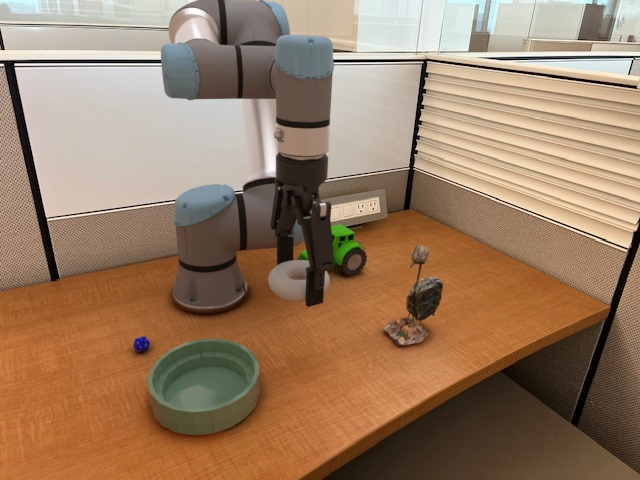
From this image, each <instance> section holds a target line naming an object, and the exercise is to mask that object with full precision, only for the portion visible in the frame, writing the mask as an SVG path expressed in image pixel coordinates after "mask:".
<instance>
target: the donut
mask: <svg viewBox="0 0 640 480" xmlns="http://www.w3.org/2000/svg"><path fill="white" fill-rule="evenodd" d="M307 267H310V265H309V261H305V260H297V259H295V260H294V259H293V260H292V261H287V262H283V263H281V264H279V265H277V264H276V266H274V267H273V268H272V269H271V270H270V271H269V275H268V277H267V283H268V287H269V289H270V290H271V292H272V293H273V294H274V295H276V296H277V297H279V298H281V299H282V300H286V301H290V302H298V303H299V302H305V299H306V269H305V268H307ZM330 283H331V278H330V275H329V272H328V271H325V282H324V294H325V293H326V292H327V290H328V289H329V287H330Z"/></svg>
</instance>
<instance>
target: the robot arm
mask: <svg viewBox="0 0 640 480" xmlns="http://www.w3.org/2000/svg"><path fill="white" fill-rule="evenodd" d="M168 36H169V40H170V42H171V43H164V44H163V45H162V46H161V48H160V63H161V75H162V84H163V90H164V93H165V95H166V96H167V97H168V98H171V99H177V100H178V99H181V100H188V101H193V100H240V99H241V107H242V117H243V118H242V119H243V126H244V127H243V129H244V137H245V145H246V146H245V149H246V158H247V159H246V160H247V169H248V177H247V179H246V181H245V182H244V183H243V184H242V192H240V193H239V192H238V193H236V192H235V190H234V188H233V187H232V186H231V185H227V184H220V183H213V184H204V185H198V186H196V187H193V188H190V189H187V190H186V191H184V192H182V193H181V194H179V196H177V198H176V199H175V201H174V204H173V211H174V217H173V225H175V233H176V246H177V257H178V268H177V271H176V275H175V279H174V283H173V287H172V299H173V300H172V301H173V303H174V305H176V307H177V308H178V309H180V310H181V311H184V312H186V313H189V314H195V315H215V314H216V315H217V314H221V313H226V312H228V311H230V310H233V309H235V308H237V307H238V306H239V305H241V304H242V303H243V302H244V301H245V300H246V298H247V295H248V287H249V285H248V282H247V279H246V278H245V277H244V275H243V272H242V270H241V268H240V265H239V263H238V257H237V252H241V251H242V252H243V251H255V250H269V249H276V266H277V265H279V264H281V263H283V262H287V261H292V260H294V247H297V246H301V244H303V243H304V245H305V250H307V255H308V260H309V265H310V267H307V268H305V269H306V299H305V301H304V302H305V303H304V304H305V306H306V307H307V308H310V307H313V306H317V305H321V304H324V296H325V295H324V294H325V293H324V282H325V271H327V272H329V271H333V270H334V269H336V265H335V264H334V253H333V242H332V231H331V227H332V221H331V217H332V216H331V215H332V203H331V202H330V201H324V202H323V201H322V200H321V195H320V189H319V188H320V186H321V185H323V184H324V183H325V182H326V181H327V179H328V175H329V174H328V172H329V171H328V170H329V156H328V155H327V153H329V152H330V133H331V131H330V130H331V110H332V109H331V108H332V93H333V72H334V69H335V63H334V45H333V42H332V40H331V38H329V37H326V36H321V35H310V34H309V35H308V34H307V35H306V34H291V30H290V22H289V19H288V15H287V13H286V10H285V9H284V8H283V6H282V5H281V4H279V3H278V2H276V1H266V0H194V1H191V2H189V3H186V4H184V5H182V6H181V7H180V8H178V9H177V10H176V11H174V13H173V14H172V16H171V18H170V21H169V25H168Z"/></svg>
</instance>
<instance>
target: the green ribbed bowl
mask: <svg viewBox="0 0 640 480" xmlns="http://www.w3.org/2000/svg"><path fill="white" fill-rule="evenodd" d="M260 383H261V382H260V365H259V360H258V359H257V357H256V356H255V354H254V352H253V351H252V350H250V349H249V348H248V347H246V346H245V345H244V344H241V343H238V342H235V341H233V340H230V339H223V338H215V337H214V338H200V339H195V340H192V341H187V342H184V343H181V344H180V345H177V346H175V347H172V348H171V349H169V350H166V352H165V353H163V354H162V355H161V356H160V357H159V358H157V359H156V360H155V362H154V364H153V365H152V366H151V368H150V370H149V371H148V376H147V381H146V385H147V392H148V398H149V399H148V400H149V405H150V409H151V413H152V416H153V418H155V420H156V421H157V422H158V423H159V424H160V425H161V426H162V427H163V428H166V429H168V430H169V431H172V432H174V433H175V434H182V435H188V436H189V435H190V436H202V435H213V434H216V433H219V432H222V431H225V430H227V429H228V430H229V429H231V428H233V427H235V426H236V425H238V424H239V423H240V422H242V421H243V420H245V419H246V418H247V417H248V416H249V415H250V414H251V412H252V411H254V409H255V408H256V406H257V403H258V401H259V397H260V395H261V390H260V389H261V388H260Z"/></svg>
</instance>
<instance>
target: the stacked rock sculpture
mask: <svg viewBox="0 0 640 480" xmlns="http://www.w3.org/2000/svg"><path fill="white" fill-rule="evenodd" d="M429 254H430V250H429V248H428V246H424V245H423V244H419V245H418V244H417V245H416V246H415V247H414V249H413V251H412V254H411V261H412V262H411V264H410V265H409V268H410V269H412V268H413V267H414V265H419V266H418V272H417V277H416V281H415V282H414V284H413V285H412V286H411V288H410V290H409V292H408V293H407V296H406V302H405V303H406V307H405V308H406V310H407V312H408V315H407V317H400V318H397V319H394V321H391V322H389V323H388V325H386V326H384V328H382V329H383V330H382V331H383V332H385V333H388V335H389V337H391V339H392V341H394V343H395V344H396V345H397V346H409V345H412V344H420V343H422V342H423V341H425V339H426V337H427V336H429V334H430V333H431V332H432V331H430V329H425V328H424V327H423V326H421V325H420V323H421V322H422V321H424V320H426V319H428V318H430V316H433V317H435V316H436V314H435V313H436V311H437V310H438V307H439V306H440V303H441V301H442V297H443V288H444V284H443V282H446V280H445V279H444V280H443V282H442V280H441V279H440V278H437V277H435V276H432V275H430V276H427V277H423V278H420V275H421V271H422V267H423V266H422V265H425V264H426V262H427V260H428V257H429ZM410 316H411V317H412V318H409V317H410ZM388 335H387V336H388Z"/></svg>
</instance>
